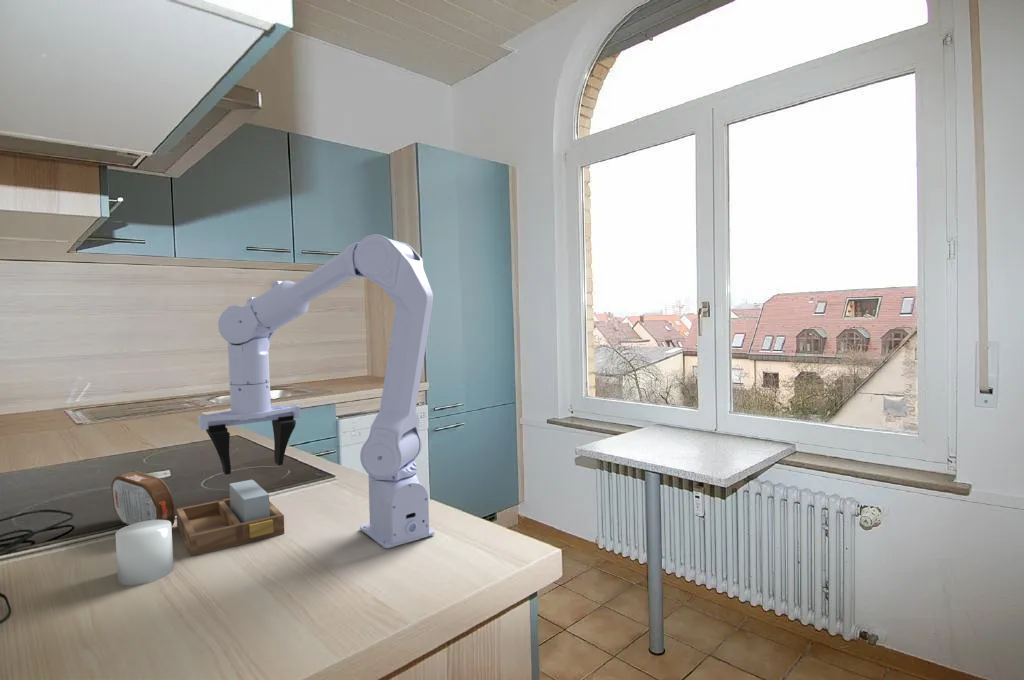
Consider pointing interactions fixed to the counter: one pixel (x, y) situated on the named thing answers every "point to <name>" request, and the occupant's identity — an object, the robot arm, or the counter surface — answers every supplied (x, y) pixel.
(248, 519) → the grey rectangular block
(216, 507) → the tray
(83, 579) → the counter surface
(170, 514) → the tin
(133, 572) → the white rounded pillar
